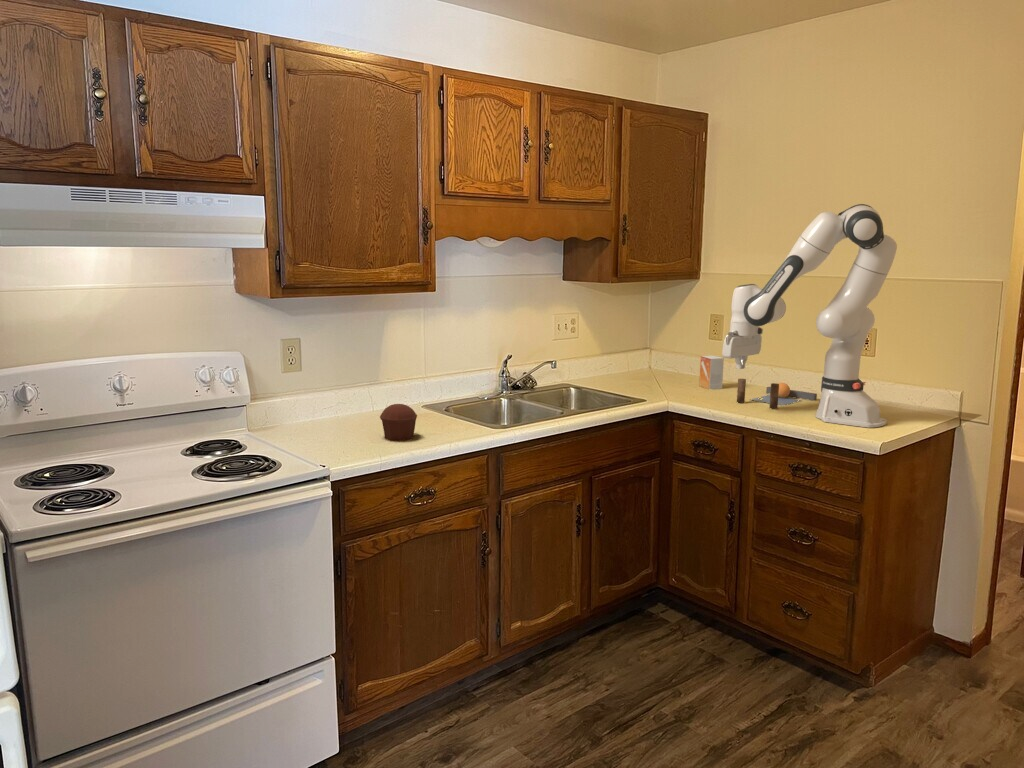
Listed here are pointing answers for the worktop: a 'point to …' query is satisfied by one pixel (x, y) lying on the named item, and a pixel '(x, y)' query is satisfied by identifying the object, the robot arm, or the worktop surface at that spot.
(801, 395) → the wall
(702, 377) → the small box
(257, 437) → the worktop surface
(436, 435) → the worktop surface
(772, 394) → the post
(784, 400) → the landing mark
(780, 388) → the ball
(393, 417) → the muffin
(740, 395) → the post
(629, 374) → the worktop surface
